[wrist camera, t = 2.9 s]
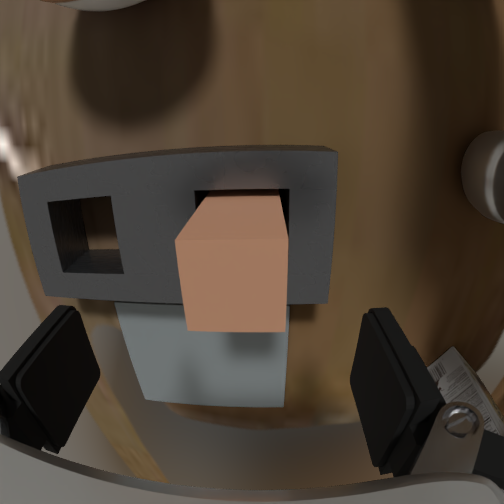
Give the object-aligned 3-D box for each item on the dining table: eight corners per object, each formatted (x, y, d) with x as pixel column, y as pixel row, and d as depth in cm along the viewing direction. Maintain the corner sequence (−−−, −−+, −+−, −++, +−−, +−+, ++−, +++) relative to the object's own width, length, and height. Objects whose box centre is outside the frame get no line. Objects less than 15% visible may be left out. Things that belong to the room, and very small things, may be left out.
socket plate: (323, 145, 19) (337, 152, 15) (317, 273, 22) (327, 303, 19) (49, 165, 20) (17, 176, 16) (70, 271, 23) (45, 295, 20)
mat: (289, 303, 24) (289, 306, 23) (283, 403, 28) (283, 407, 28) (115, 299, 24) (114, 302, 24) (146, 396, 29) (145, 399, 29)
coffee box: (480, 375, 27) (536, 478, 12) (438, 408, 29) (480, 515, 15) (453, 342, 25) (526, 472, 10) (404, 383, 27) (453, 518, 12)
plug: (276, 183, 20) (288, 238, 11) (276, 241, 22) (285, 331, 12) (215, 184, 20) (174, 240, 11) (218, 241, 22) (187, 330, 13)
